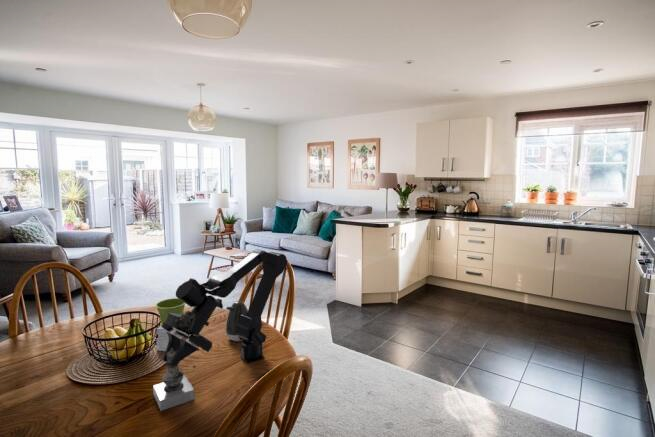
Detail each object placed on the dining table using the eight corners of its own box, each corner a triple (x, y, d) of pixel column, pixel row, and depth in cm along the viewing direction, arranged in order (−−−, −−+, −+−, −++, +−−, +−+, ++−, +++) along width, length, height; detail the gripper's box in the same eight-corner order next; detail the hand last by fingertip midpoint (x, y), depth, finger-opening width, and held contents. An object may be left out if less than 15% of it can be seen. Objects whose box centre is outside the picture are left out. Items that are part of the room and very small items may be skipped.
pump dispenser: (220, 339, 142) (219, 301, 140) (241, 330, 150) (241, 295, 148) (235, 347, 135) (234, 308, 134) (257, 338, 143) (256, 301, 141)
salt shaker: (161, 385, 105) (159, 346, 104) (183, 379, 108) (181, 341, 107) (163, 395, 100) (161, 354, 99) (186, 389, 103) (184, 349, 102)
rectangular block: (185, 384, 111) (185, 375, 111) (194, 399, 104) (193, 389, 103) (153, 395, 106) (153, 385, 105) (160, 411, 98) (160, 400, 98)
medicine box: (167, 352, 131) (166, 329, 130) (156, 350, 132) (155, 328, 131) (180, 342, 139) (179, 320, 138) (170, 341, 140) (169, 319, 139)
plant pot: (167, 322, 158) (166, 297, 157) (192, 323, 156) (191, 298, 155) (150, 333, 146) (149, 307, 145) (177, 335, 145) (176, 308, 143)
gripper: (165, 294, 110) (130, 342, 103) (201, 308, 99) (164, 363, 92) (190, 311, 117) (159, 357, 110) (225, 326, 106) (193, 378, 99)
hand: (168, 363), depth 102 cm, fingers open, 3 cm apart
